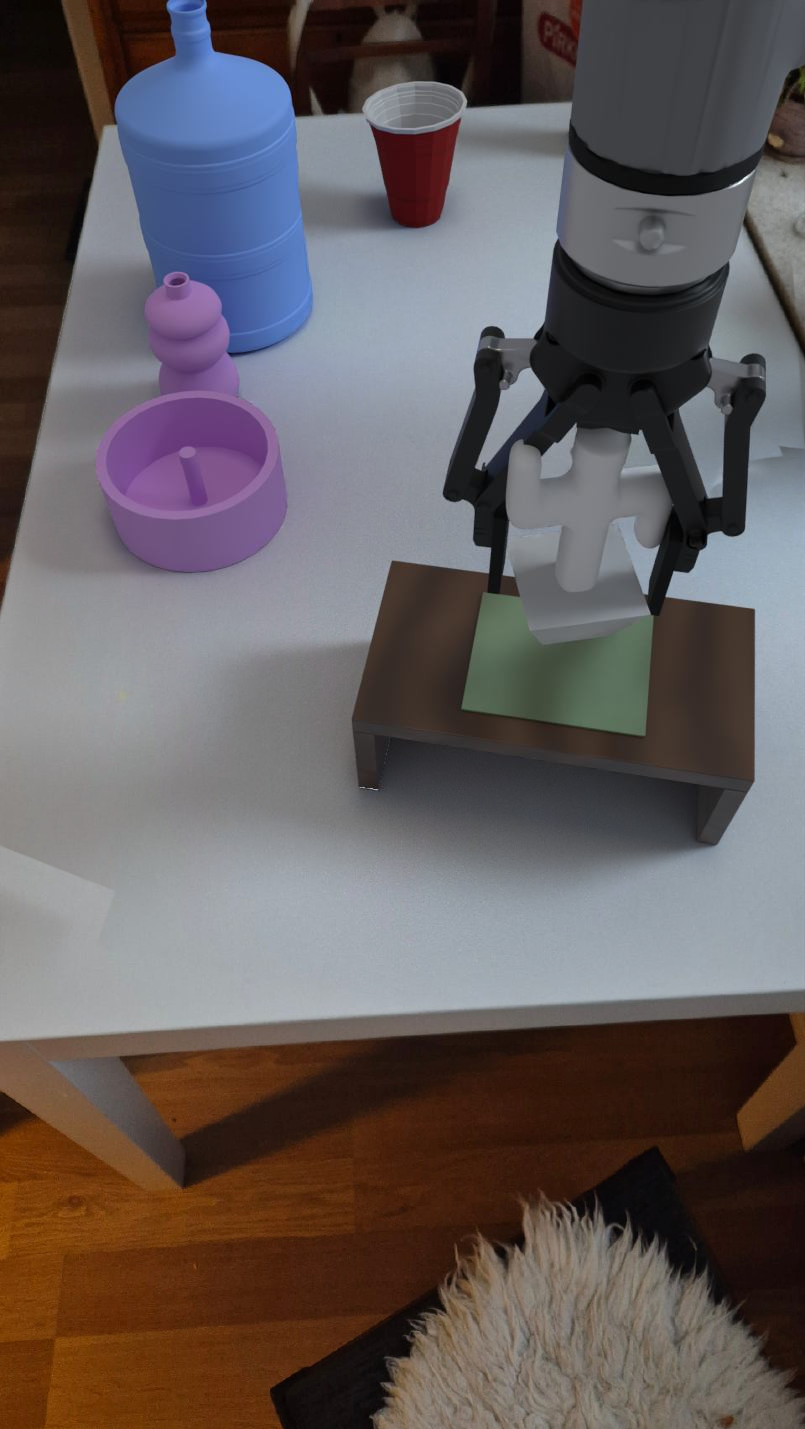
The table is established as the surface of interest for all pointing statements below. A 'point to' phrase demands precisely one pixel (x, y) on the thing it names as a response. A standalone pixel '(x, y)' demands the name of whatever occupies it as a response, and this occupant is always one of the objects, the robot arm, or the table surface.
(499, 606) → the shelf
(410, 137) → the plastic cup
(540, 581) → the figurine
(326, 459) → the table surface
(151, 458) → the container set
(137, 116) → the water jug
